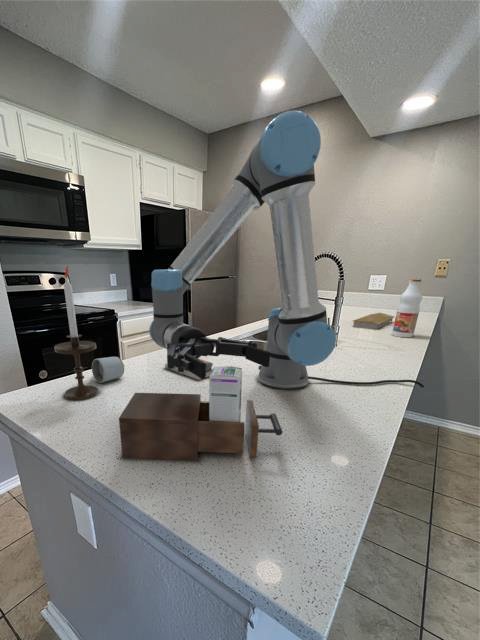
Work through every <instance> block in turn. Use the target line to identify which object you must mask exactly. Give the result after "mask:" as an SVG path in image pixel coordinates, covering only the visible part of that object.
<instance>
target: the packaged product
mask: <svg viewBox="0 0 480 640" xmlns="http://www.w3.org/2000/svg"><path fill="white" fill-rule="evenodd" d="M175 357H177V356H175ZM198 359H199V360H201V361H203V362H205V363H206V378H207V377H208V378H209V376H210V374H211V372H212V370H213V364H214V363H213V362H212V361H208V360H204V359H202V358H200V357H199V358H198ZM164 368H165V369H167V370H170V371H172V372H175V373H177V374H179V375H182V376H183V375H184V376H187V377H189V378H192V379H195V380H198V381H199V380H202V379H201V378H199V377H198V376H196V375H195V374H193V373H191V372H190V371H187V370H185V369H184V372H178V366H174V368H172V369H168V368H167V363H165V364H164Z"/></svg>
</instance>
